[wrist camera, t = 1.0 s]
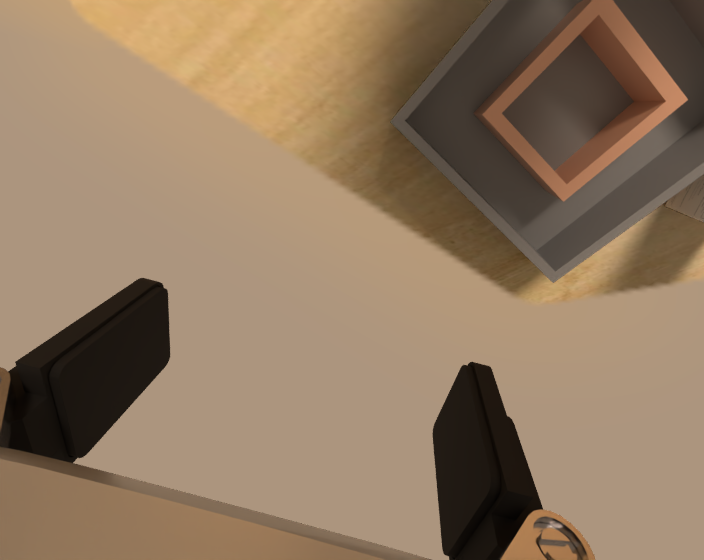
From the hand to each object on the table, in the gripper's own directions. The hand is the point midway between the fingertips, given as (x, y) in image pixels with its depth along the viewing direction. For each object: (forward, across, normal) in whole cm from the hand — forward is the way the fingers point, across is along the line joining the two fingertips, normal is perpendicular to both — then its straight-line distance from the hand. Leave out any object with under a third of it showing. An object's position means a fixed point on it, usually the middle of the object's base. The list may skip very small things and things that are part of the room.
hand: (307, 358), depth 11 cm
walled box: (+28, -14, -10) cm, 33 cm away
